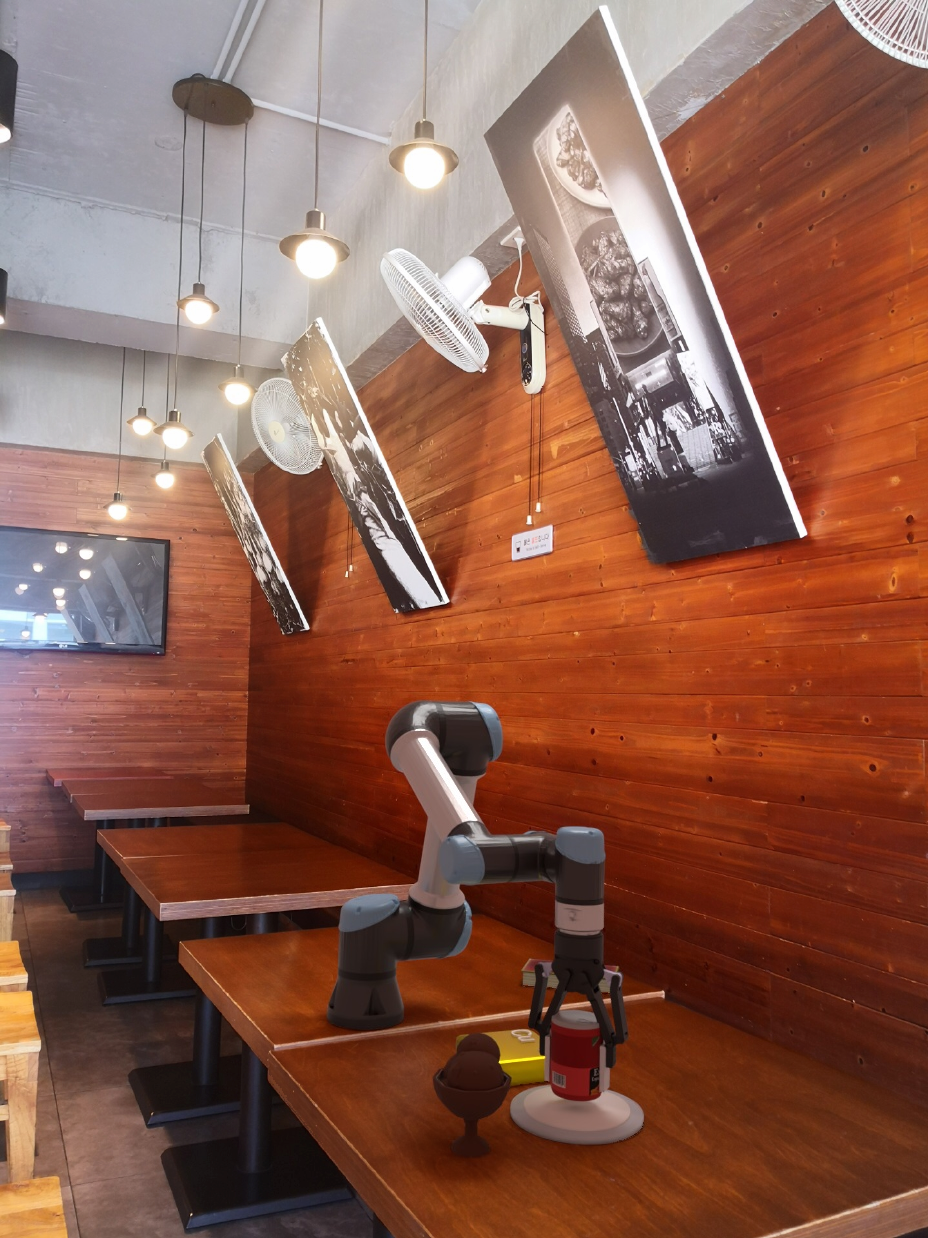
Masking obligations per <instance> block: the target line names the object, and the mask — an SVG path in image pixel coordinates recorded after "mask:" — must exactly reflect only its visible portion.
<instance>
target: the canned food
mask: <svg viewBox="0 0 928 1238" xmlns="http://www.w3.org/2000/svg"><path fill="white" fill-rule="evenodd" d="M550 1032H551V1074H550V1081H549V1085H551V1089H552V1092H553V1093H554V1094H555V1095H556V1096H558V1097H560V1098H563V1099H566V1100H571V1101H591V1100H595V1099H597V1098H599V1097H600V1096H601V1093H602V1092H599V1082H600V1046H601V1045H602V1044H603V1043H604V1039H603V1036H602V1034H601V1031H600V1028H599V1023H597V1020H596V1017H595V1015H594V1012H591V1011H587V1010H580V1009H567V1010H566V1009H565V1010H559V1012H558V1013H556V1014H555V1015H554V1016H552V1020H551V1030H550Z"/></svg>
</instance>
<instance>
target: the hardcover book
mask: <svg viewBox="0 0 928 1238" xmlns="http://www.w3.org/2000/svg"><path fill="white" fill-rule="evenodd" d="M541 961H545V962H546V963H550V962H552V961H553V960H546V959H536V958H534V959H533V958H528V960H527V962H526V963H525V964H524V965H523V966H522V969H520V972H521V973H522V986H523V985H528V986H535V982H536V977H535V970H534V967H535V965H536V964H538V963H540V962H541ZM604 965H605V964H604ZM605 968H606V970H609V971H612V972H615V973H617V972H620V966H618V965H617V966H616V965H605ZM558 983H559V981H558V979H557V977H556V976H555V974H554V972H553V970H551V975H550V976H548V983H547V987H552V988H557V985H558ZM599 987H600V990H601V992H608V993H610V987H609V986H608V985H607V981H606V979H605V978H604V977H603V979H602V980H601V981H600V983H599Z"/></svg>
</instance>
